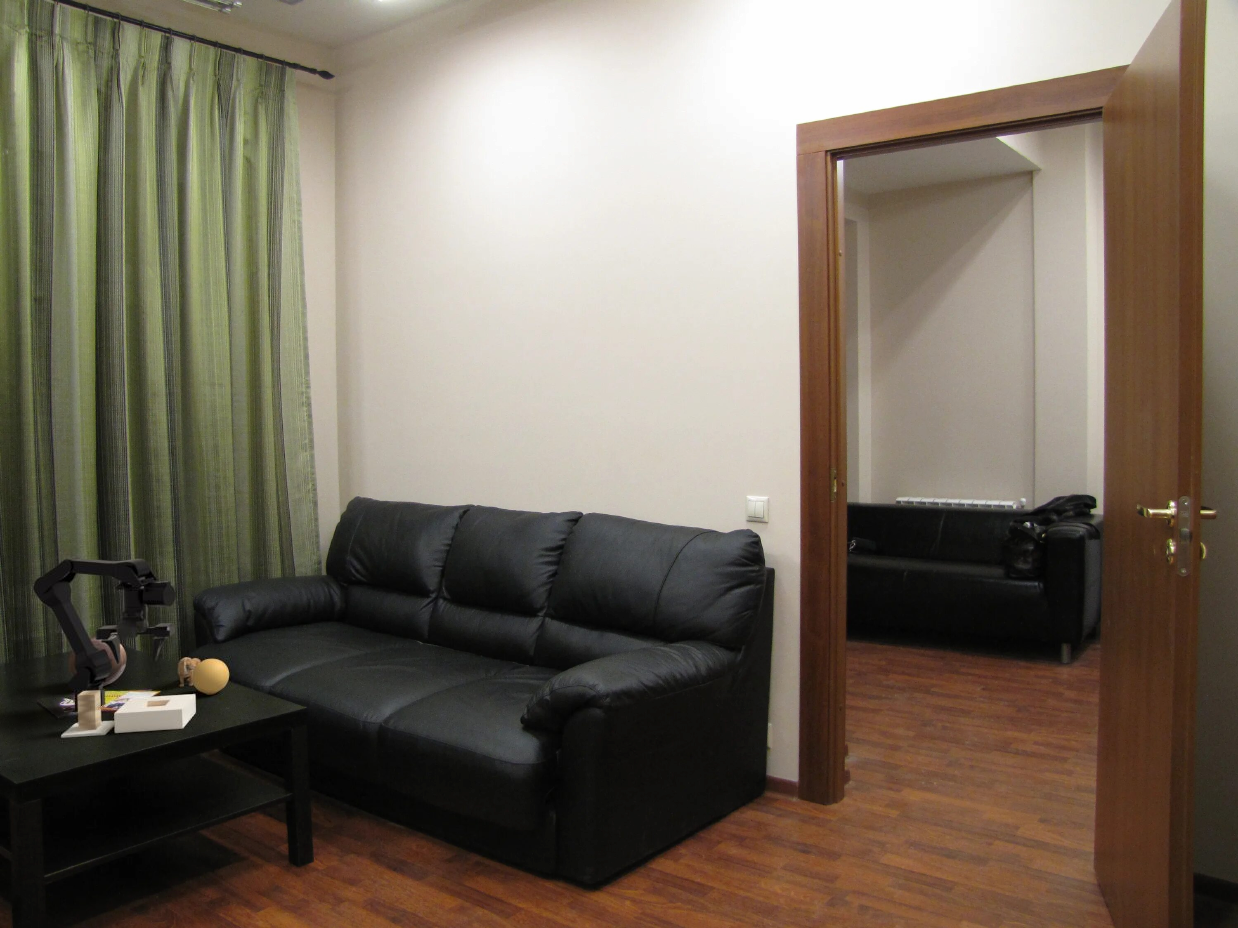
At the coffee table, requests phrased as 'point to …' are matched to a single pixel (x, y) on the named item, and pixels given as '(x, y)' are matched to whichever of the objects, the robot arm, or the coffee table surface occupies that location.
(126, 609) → the robot arm
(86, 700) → the wooden block
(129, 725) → the breaker housing
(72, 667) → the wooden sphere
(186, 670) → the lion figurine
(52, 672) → the coffee table surface
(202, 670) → the stress ball
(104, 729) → the mat
